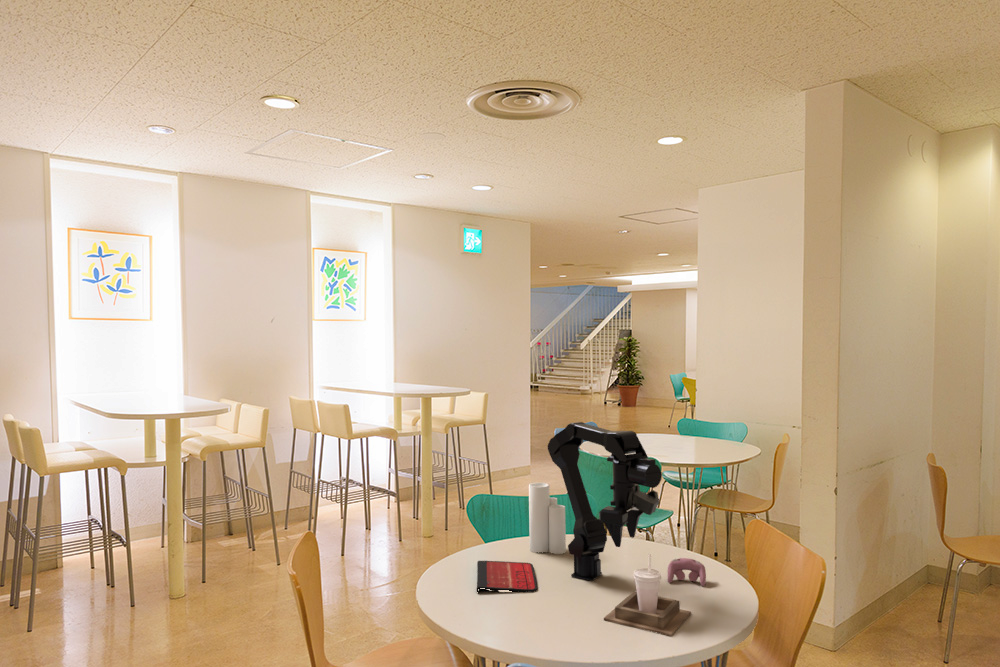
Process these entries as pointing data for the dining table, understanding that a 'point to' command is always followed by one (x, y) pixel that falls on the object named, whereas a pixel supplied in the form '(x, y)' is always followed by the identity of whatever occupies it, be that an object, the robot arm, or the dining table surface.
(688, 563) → the video game controller
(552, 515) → the vase
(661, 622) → the brown shallow square tray
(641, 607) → the smoothie
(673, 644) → the dining table surface
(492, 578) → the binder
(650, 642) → the dining table surface
